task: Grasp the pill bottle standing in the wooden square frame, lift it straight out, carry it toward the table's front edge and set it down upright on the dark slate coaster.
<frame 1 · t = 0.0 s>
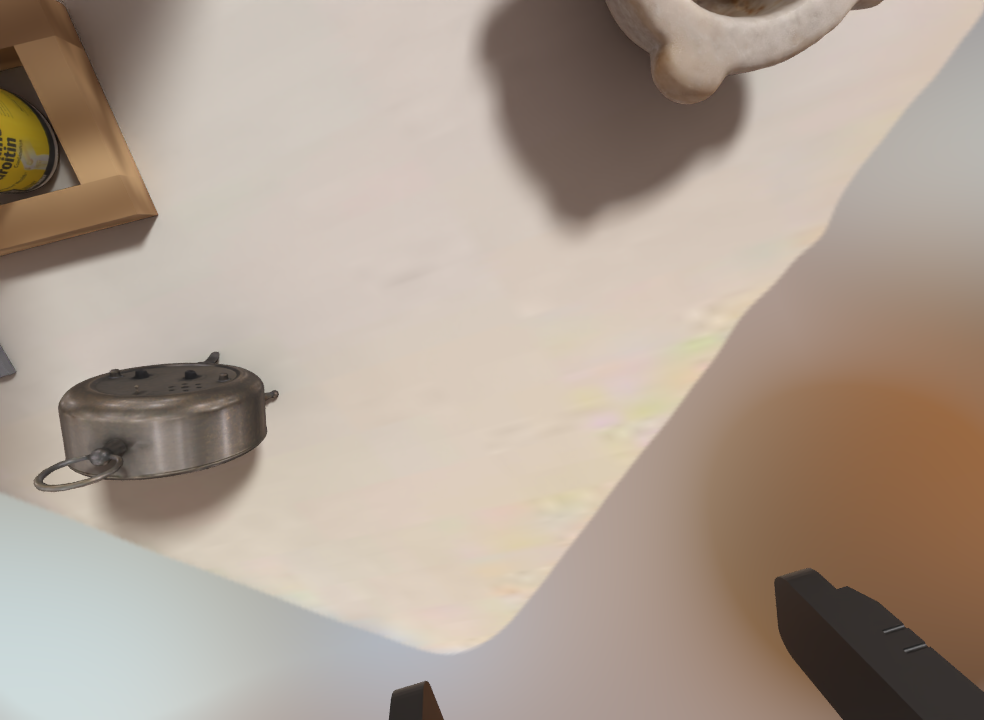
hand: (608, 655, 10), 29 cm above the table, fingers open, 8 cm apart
pill bottle: (13, 143, 31), resting in wooden square frame
alarm clock: (219, 377, 37), on the table
wooden square frame: (10, 142, 31), on the table
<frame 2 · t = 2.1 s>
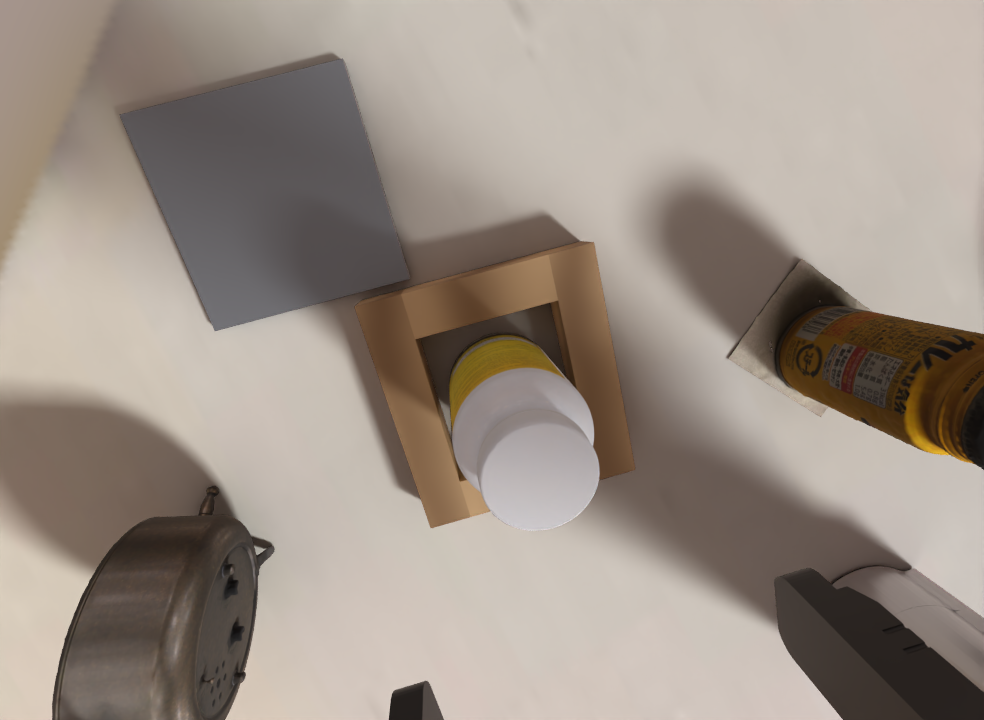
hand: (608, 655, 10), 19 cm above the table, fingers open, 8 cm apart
pill bottle: (500, 380, 29), resting in wooden square frame
condiment: (806, 340, 30), on the table
alarm clock: (239, 544, 30), on the table
wooden square frame: (501, 381, 29), on the table
slate coaster: (278, 203, 25), on the table
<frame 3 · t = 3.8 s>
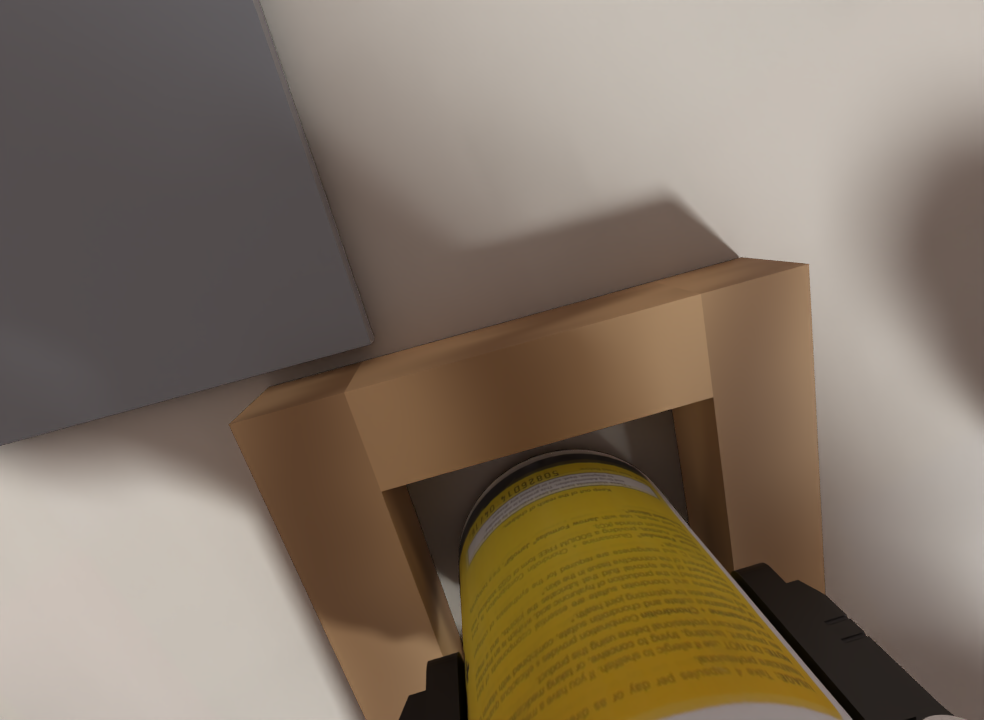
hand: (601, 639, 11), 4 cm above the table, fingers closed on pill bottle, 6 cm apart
pill bottle: (560, 532, 15), resting in wooden square frame, touching gripper
wooden square frame: (562, 536, 14), on the table
slate coaster: (53, 171, 10), on the table
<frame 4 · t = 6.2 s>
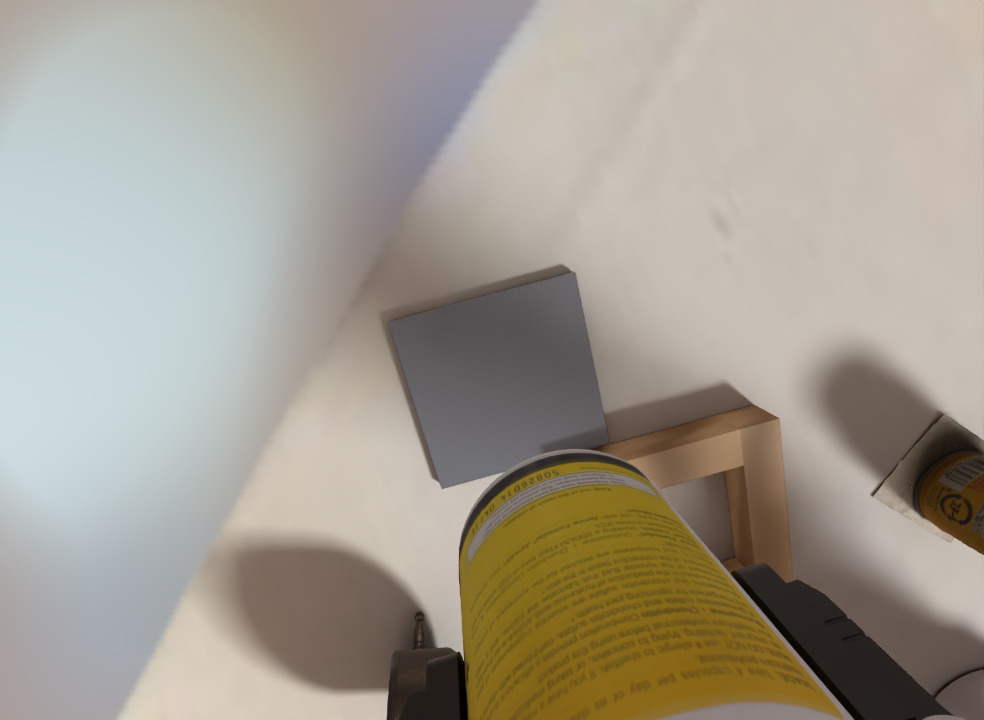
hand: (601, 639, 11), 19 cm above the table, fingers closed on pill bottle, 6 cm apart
pill bottle: (560, 531, 15), point 15 cm above the table, touching gripper
condiment: (940, 478, 34), on the table
alarm clock: (433, 658, 34), on the table
wooden square frame: (674, 520, 32), on the table
slate coaster: (503, 383, 28), on the table
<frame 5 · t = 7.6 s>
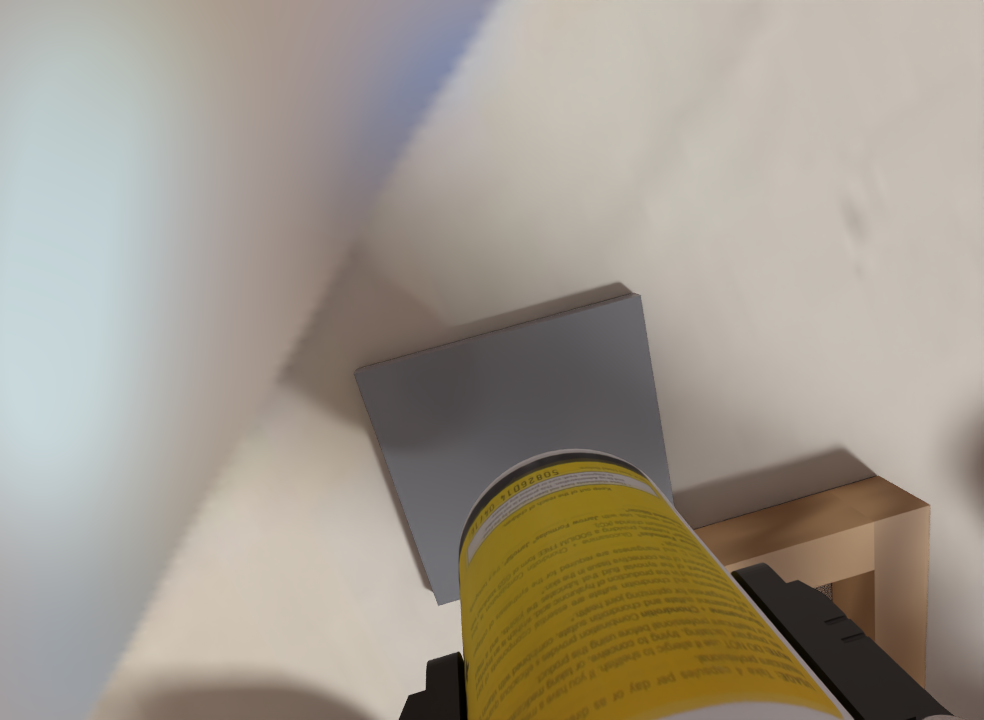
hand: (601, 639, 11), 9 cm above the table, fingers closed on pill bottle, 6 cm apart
pill bottle: (560, 531, 15), point 5 cm above the table, touching gripper
wooden square frame: (758, 629, 23), on the table
slate coaster: (529, 455, 19), on the table
when the fingers open (5 cm above the table, at t = 8.8 s): pill bottle stays where it is, resting on slate coaster.
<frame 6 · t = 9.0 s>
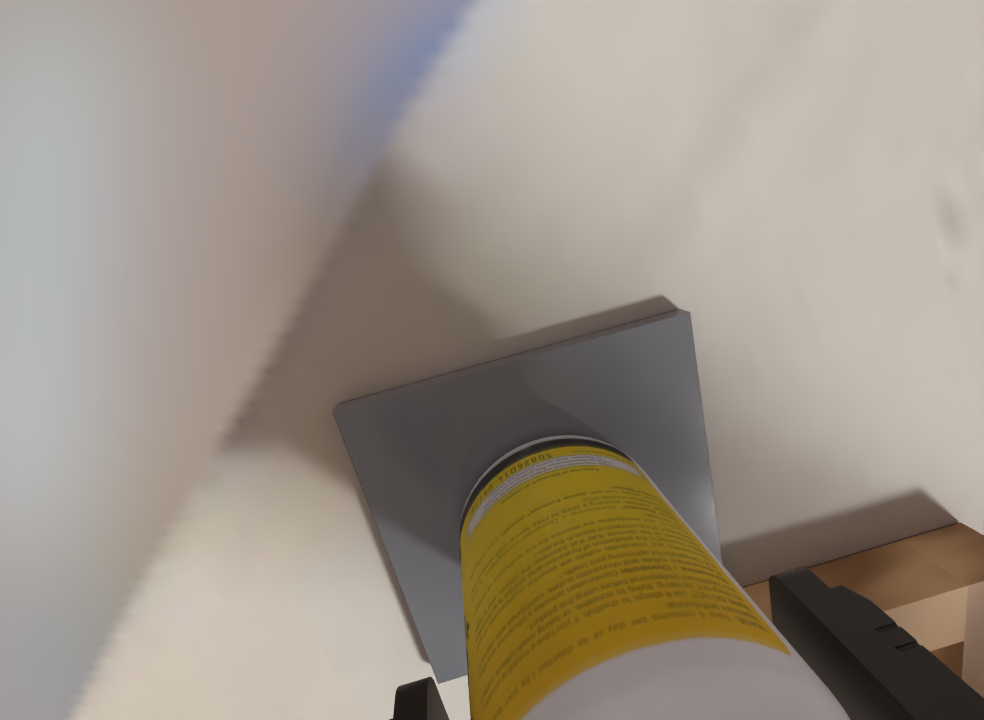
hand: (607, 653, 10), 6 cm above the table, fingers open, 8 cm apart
pill bottle: (554, 513, 16), resting on slate coaster
wooden square frame: (812, 698, 20), on the table
slate coaster: (548, 504, 16), on the table
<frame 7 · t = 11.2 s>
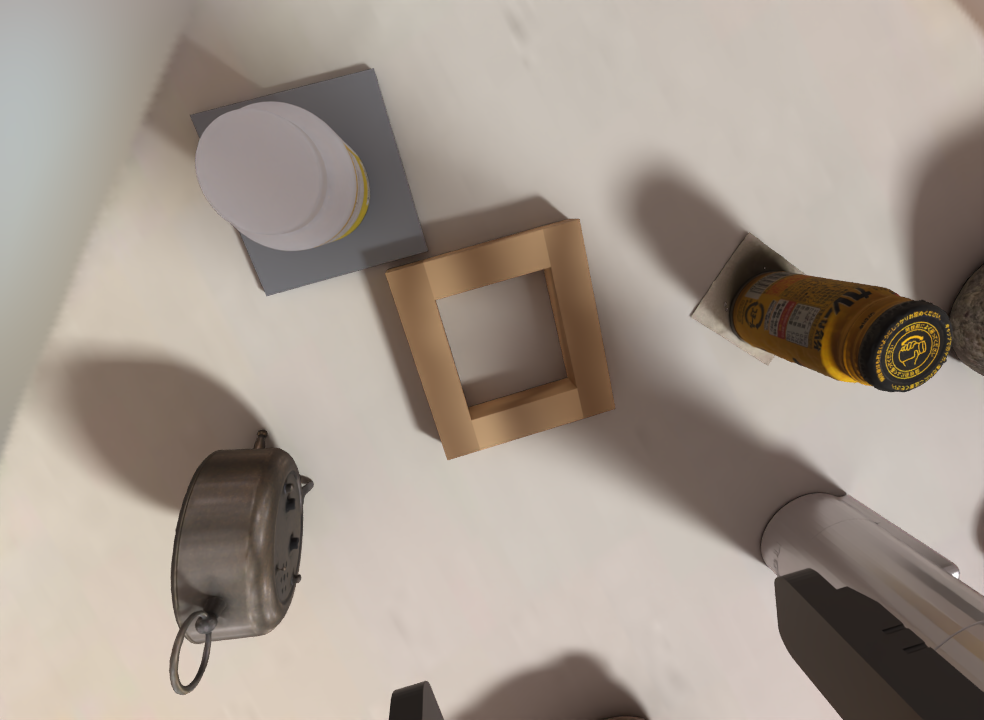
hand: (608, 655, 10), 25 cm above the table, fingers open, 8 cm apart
pill bottle: (320, 189, 29), resting on slate coaster
condiment: (754, 301, 37), on the table
alarm clock: (283, 480, 35), on the table
wooden square frame: (503, 338, 34), on the table
slate coaster: (319, 188, 30), on the table
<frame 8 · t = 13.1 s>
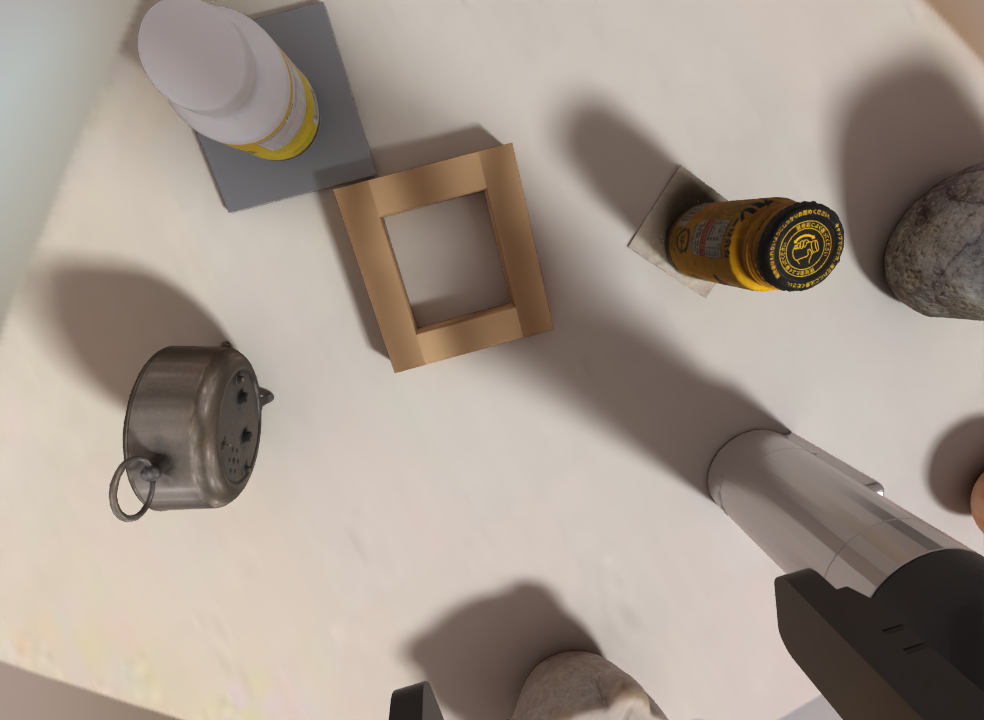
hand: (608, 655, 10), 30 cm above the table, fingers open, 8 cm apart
pill bottle: (276, 113, 33), resting on slate coaster
condiment: (690, 234, 39), on the table
mortar: (566, 684, 51), on the table
alarm clock: (247, 393, 38), on the table
wooden square frame: (449, 261, 37), on the table
stone: (945, 235, 41), on the table
slate coaster: (276, 113, 33), on the table
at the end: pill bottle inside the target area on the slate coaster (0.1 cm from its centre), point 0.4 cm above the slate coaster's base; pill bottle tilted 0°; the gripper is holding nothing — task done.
